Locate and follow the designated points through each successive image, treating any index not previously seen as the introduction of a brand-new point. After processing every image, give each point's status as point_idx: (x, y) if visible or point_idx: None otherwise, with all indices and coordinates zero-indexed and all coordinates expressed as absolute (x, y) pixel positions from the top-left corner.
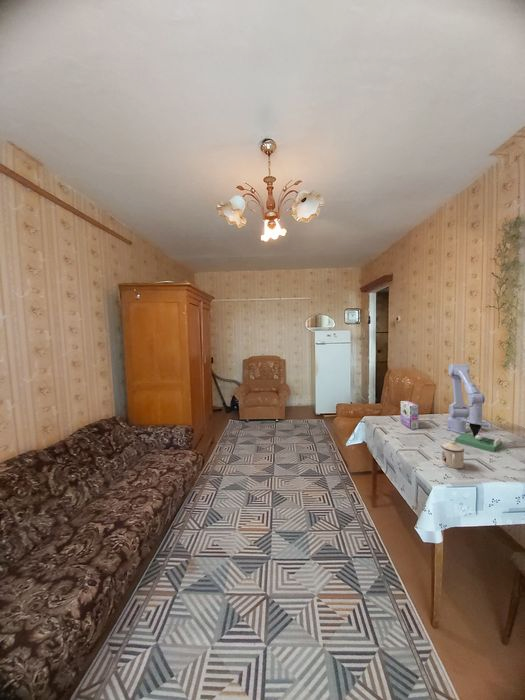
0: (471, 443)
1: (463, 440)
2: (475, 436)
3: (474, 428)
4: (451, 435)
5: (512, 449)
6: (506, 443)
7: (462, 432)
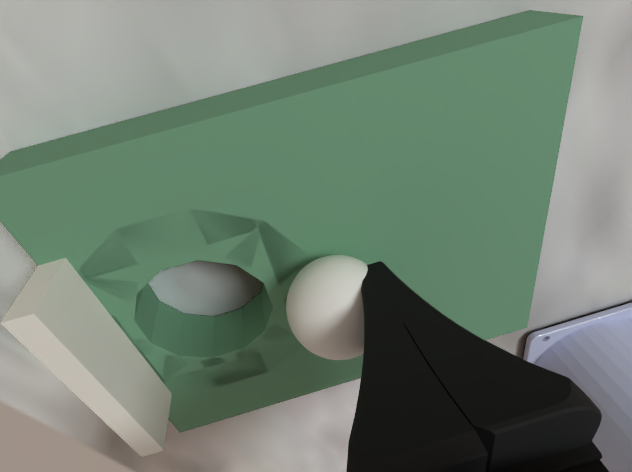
0: (315, 82)
1: (447, 53)
2: (359, 273)
3: (432, 390)
4: (613, 207)
5: (70, 392)
6: (211, 439)
7: (543, 343)
